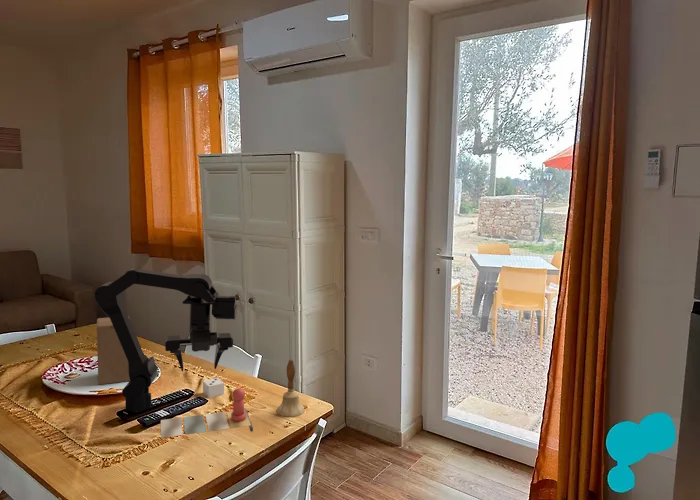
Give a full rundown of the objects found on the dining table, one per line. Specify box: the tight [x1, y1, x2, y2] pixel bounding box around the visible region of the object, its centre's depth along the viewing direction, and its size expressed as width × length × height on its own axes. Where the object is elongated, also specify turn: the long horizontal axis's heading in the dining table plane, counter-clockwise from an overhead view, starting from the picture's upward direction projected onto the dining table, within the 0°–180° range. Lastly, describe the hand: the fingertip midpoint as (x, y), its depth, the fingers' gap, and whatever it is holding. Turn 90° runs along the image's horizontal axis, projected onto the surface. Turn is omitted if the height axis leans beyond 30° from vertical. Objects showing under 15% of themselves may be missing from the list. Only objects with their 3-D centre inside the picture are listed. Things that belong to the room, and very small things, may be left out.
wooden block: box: [96, 315, 130, 385], centre depth 168 cm, size 10×10×20 cm
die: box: [202, 377, 225, 398], centre depth 157 cm, size 5×5×5 cm
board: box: [160, 407, 254, 439], centre depth 139 cm, size 24×12×1 cm, turn 111°
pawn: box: [231, 387, 246, 422], centre depth 141 cm, size 4×4×9 cm
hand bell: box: [276, 359, 305, 418], centre depth 149 cm, size 8×8×16 cm
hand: (198, 369), depth 146 cm, fingers open, 9 cm apart
